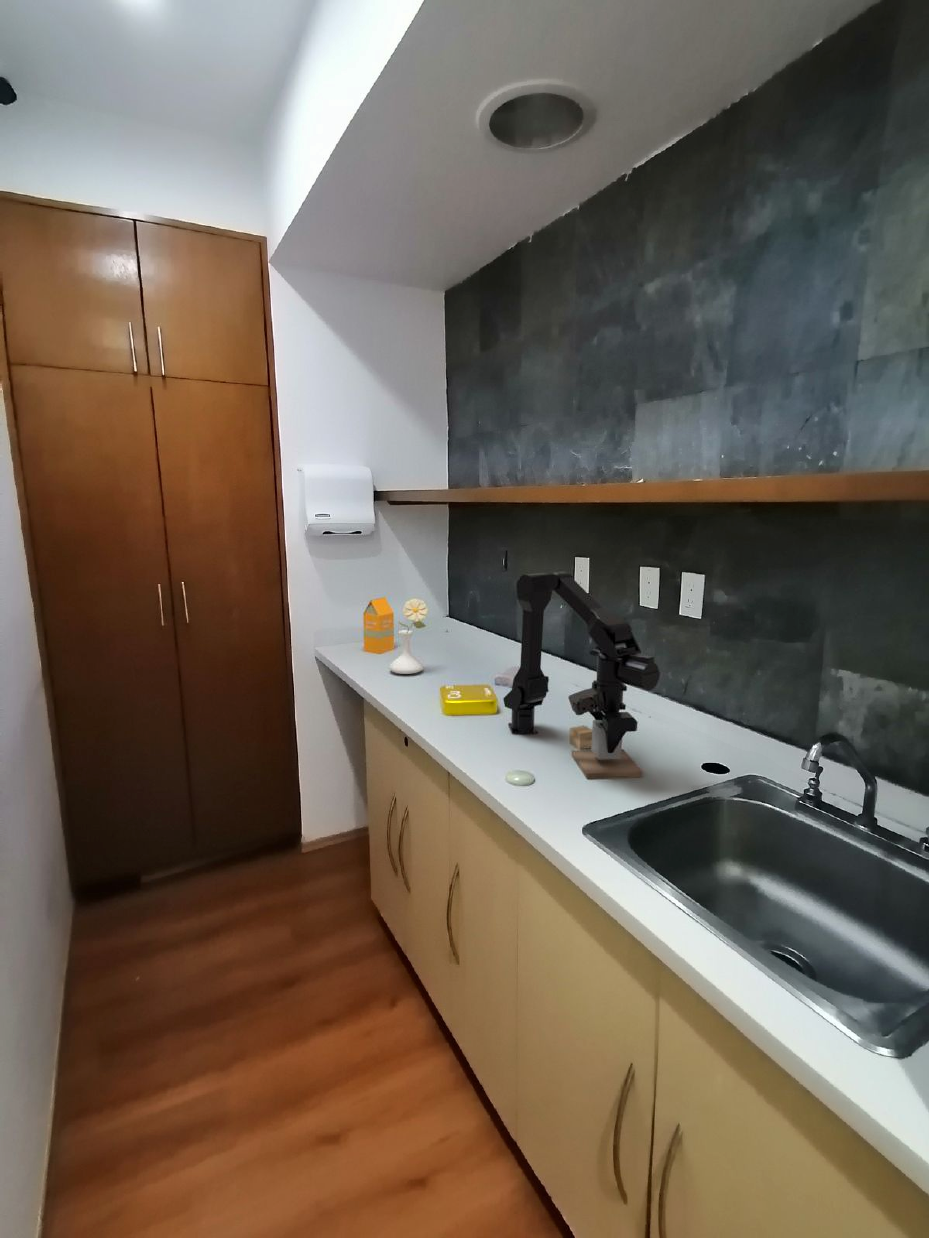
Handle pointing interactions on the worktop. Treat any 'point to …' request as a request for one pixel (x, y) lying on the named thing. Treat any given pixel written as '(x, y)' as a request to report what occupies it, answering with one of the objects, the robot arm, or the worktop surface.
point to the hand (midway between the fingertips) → (606, 747)
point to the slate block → (602, 743)
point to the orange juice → (378, 627)
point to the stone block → (506, 677)
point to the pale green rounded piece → (519, 778)
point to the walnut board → (606, 765)
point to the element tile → (468, 700)
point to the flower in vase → (406, 661)
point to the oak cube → (581, 737)
